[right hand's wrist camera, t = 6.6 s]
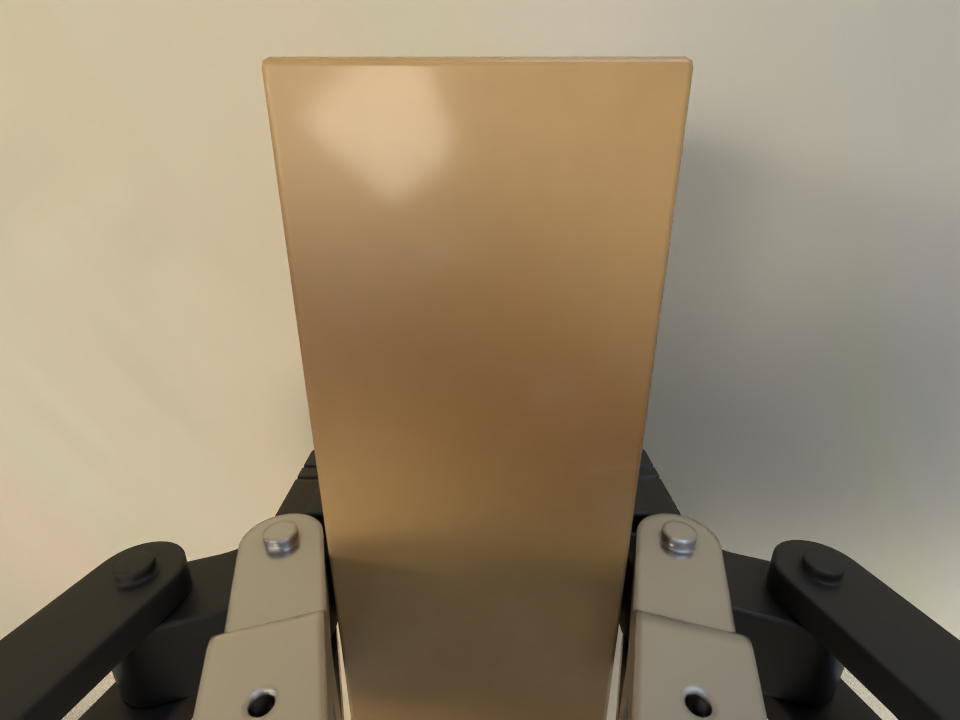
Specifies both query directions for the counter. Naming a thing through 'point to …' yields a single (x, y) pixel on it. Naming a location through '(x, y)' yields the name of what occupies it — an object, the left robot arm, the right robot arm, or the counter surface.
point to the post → (478, 359)
